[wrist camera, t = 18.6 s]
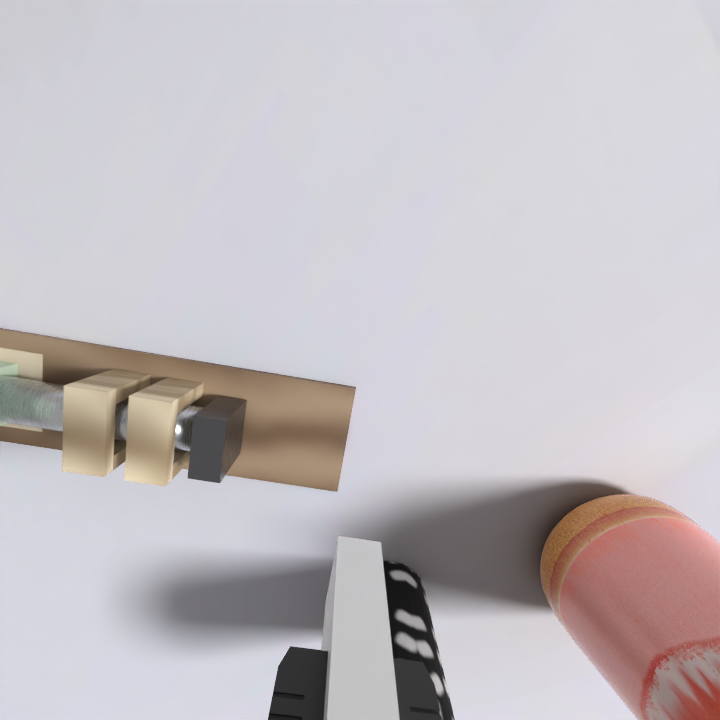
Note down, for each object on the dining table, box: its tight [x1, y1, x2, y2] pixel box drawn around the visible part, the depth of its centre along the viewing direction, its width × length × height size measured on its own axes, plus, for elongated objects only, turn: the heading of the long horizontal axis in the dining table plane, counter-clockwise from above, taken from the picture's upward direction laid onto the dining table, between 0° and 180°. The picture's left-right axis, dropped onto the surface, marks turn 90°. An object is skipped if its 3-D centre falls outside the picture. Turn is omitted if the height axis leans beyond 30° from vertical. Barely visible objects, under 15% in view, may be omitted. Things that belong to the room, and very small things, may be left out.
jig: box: [0, 328, 356, 492], centre depth 28 cm, size 10×39×8 cm, turn 80°
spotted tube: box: [383, 561, 454, 720], centre depth 26 cm, size 8×8×20 cm
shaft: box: [0, 375, 247, 483], centre depth 28 cm, size 5×19×5 cm, turn 80°
